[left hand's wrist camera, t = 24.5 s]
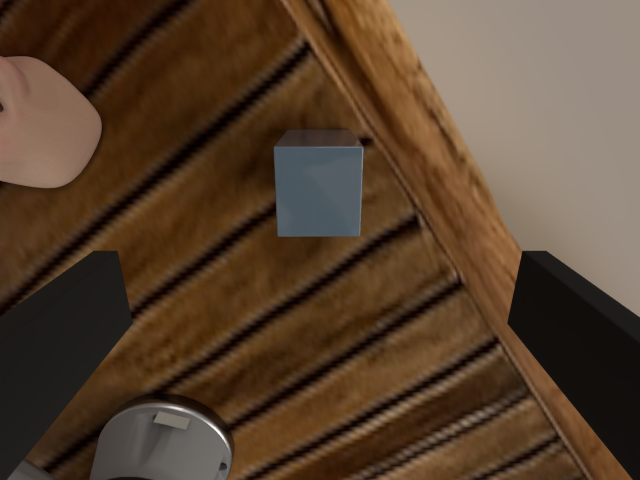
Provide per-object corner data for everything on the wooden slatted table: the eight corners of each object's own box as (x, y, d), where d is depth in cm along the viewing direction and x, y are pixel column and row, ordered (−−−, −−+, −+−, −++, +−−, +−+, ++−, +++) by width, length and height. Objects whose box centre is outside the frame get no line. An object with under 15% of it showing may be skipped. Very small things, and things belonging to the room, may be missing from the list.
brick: (348, 195, 35) (360, 236, 25) (289, 195, 35) (277, 236, 25) (350, 129, 33) (363, 146, 23) (287, 129, 33) (273, 146, 23)
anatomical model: (82, 89, 28) (58, 227, 32) (110, 89, 31) (85, 212, 35) (-116, 7, 26) (-116, 165, 30) (-61, 18, 30) (-68, 156, 33)
